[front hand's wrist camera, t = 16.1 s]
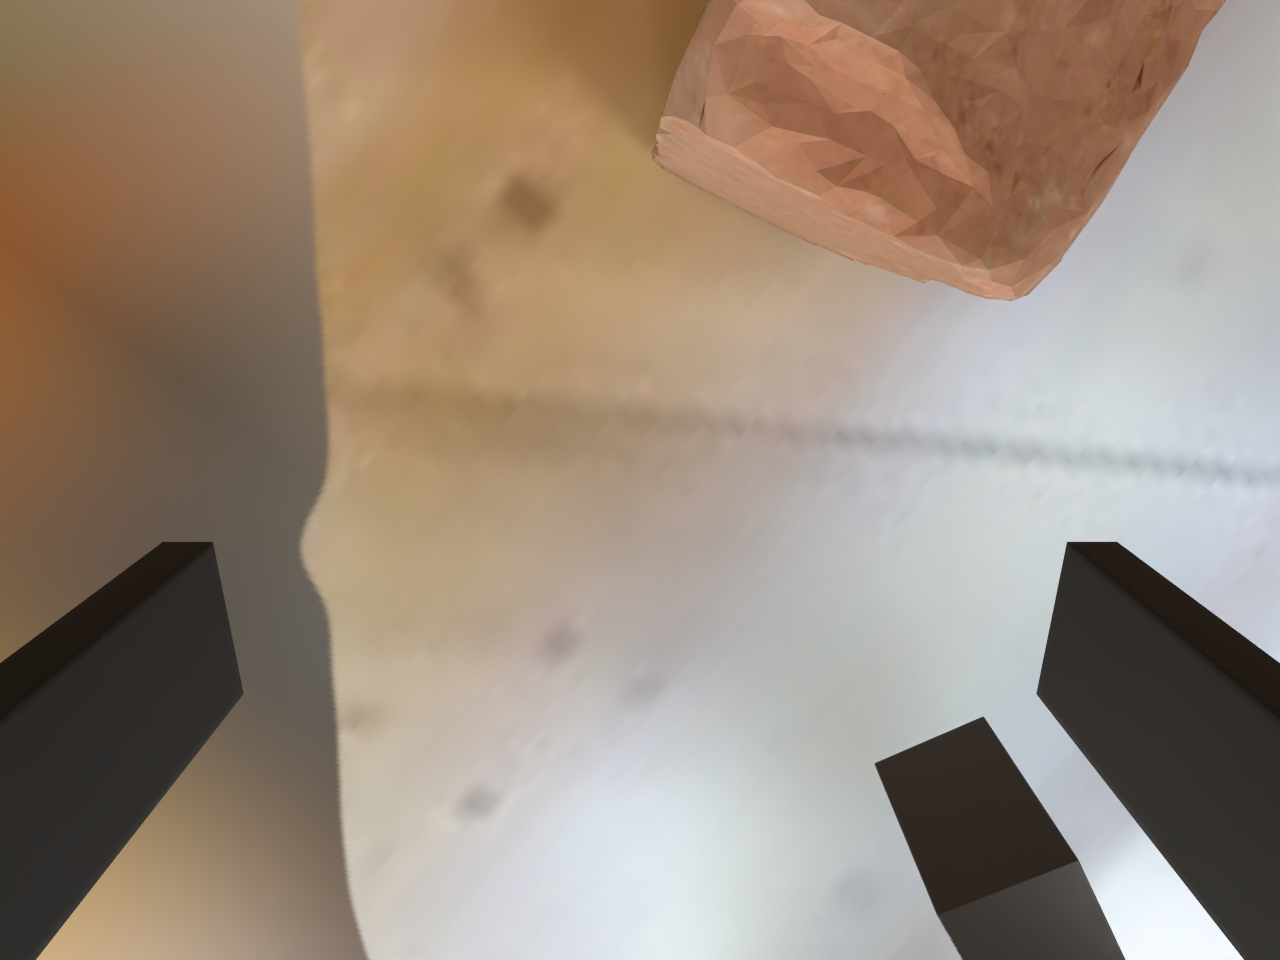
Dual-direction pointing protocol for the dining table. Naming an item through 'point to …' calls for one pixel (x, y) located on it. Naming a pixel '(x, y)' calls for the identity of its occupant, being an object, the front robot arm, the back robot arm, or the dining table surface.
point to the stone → (925, 123)
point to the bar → (992, 853)
